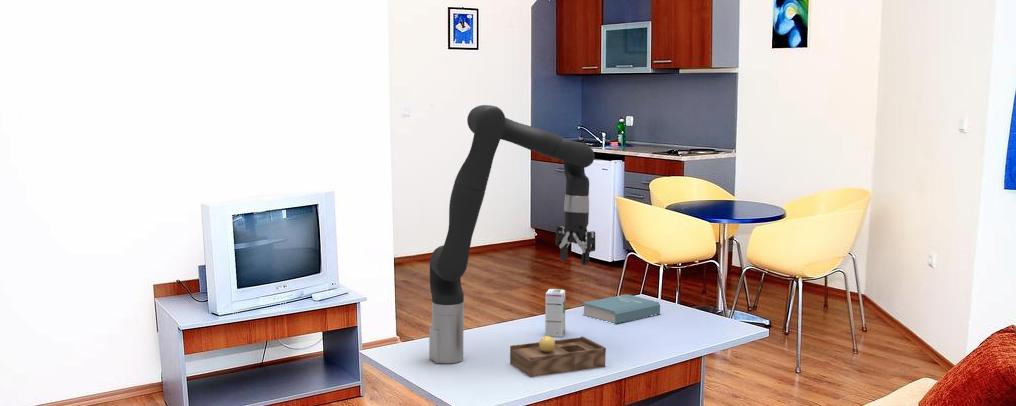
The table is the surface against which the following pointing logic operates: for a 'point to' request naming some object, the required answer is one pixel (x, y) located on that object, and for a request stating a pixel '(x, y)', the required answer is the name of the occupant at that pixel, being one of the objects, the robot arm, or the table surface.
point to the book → (621, 308)
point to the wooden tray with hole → (558, 357)
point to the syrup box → (555, 313)
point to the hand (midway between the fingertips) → (574, 262)
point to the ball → (547, 344)
